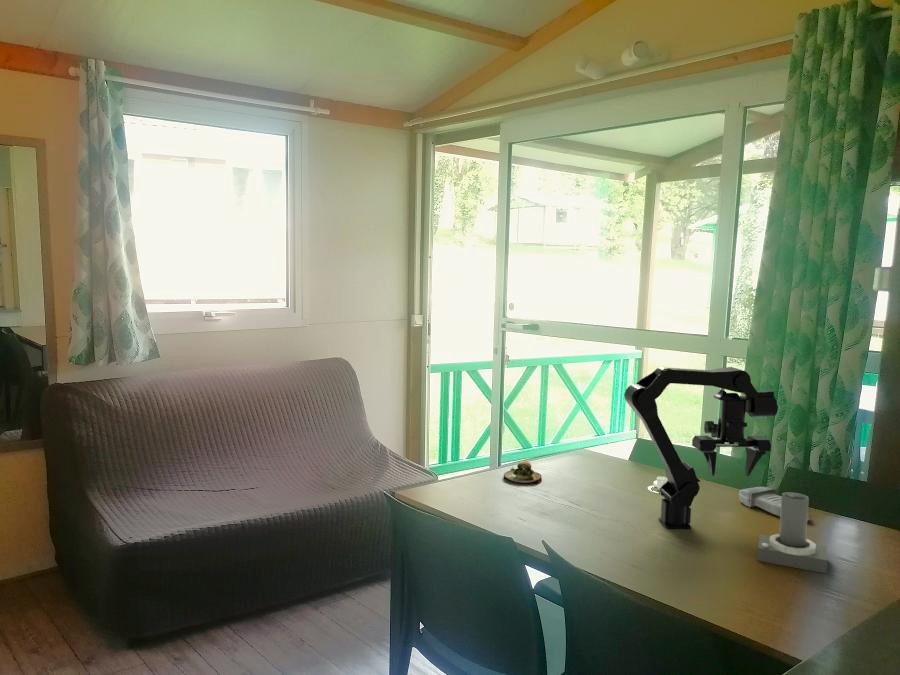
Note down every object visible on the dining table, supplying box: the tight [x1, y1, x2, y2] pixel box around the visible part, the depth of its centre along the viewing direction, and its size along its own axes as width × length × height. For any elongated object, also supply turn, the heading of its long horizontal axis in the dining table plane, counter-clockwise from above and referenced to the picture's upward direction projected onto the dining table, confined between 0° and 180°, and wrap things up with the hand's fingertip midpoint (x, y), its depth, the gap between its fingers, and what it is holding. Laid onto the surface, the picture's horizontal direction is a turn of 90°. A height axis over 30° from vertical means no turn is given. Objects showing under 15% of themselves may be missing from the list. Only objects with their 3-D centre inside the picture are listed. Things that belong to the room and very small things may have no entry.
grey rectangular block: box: [756, 533, 828, 575], centre depth 157 cm, size 14×9×4 cm
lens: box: [778, 491, 810, 548], centre depth 156 cm, size 6×6×12 cm
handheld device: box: [738, 486, 812, 522], centre depth 189 cm, size 10×20×5 cm, turn 26°
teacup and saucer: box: [647, 476, 668, 495], centre depth 206 cm, size 9×8×4 cm
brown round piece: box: [503, 459, 543, 485], centre depth 214 cm, size 12×12×8 cm
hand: (729, 475), depth 177 cm, fingers open, 9 cm apart
